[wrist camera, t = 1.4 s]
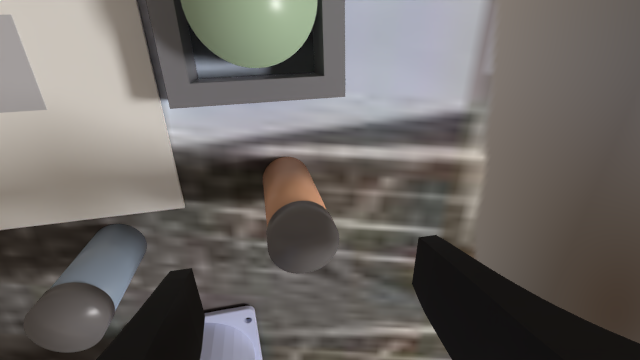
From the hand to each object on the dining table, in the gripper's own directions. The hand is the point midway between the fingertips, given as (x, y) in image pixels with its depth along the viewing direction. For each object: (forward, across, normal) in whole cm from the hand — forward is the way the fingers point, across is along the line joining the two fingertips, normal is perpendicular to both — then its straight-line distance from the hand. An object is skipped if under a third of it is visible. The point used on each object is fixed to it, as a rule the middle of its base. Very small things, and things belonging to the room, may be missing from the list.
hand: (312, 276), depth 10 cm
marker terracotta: (+10, 0, +1) cm, 10 cm away
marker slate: (+9, +10, +4) cm, 14 cm away
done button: (+9, +1, -8) cm, 12 cm away
